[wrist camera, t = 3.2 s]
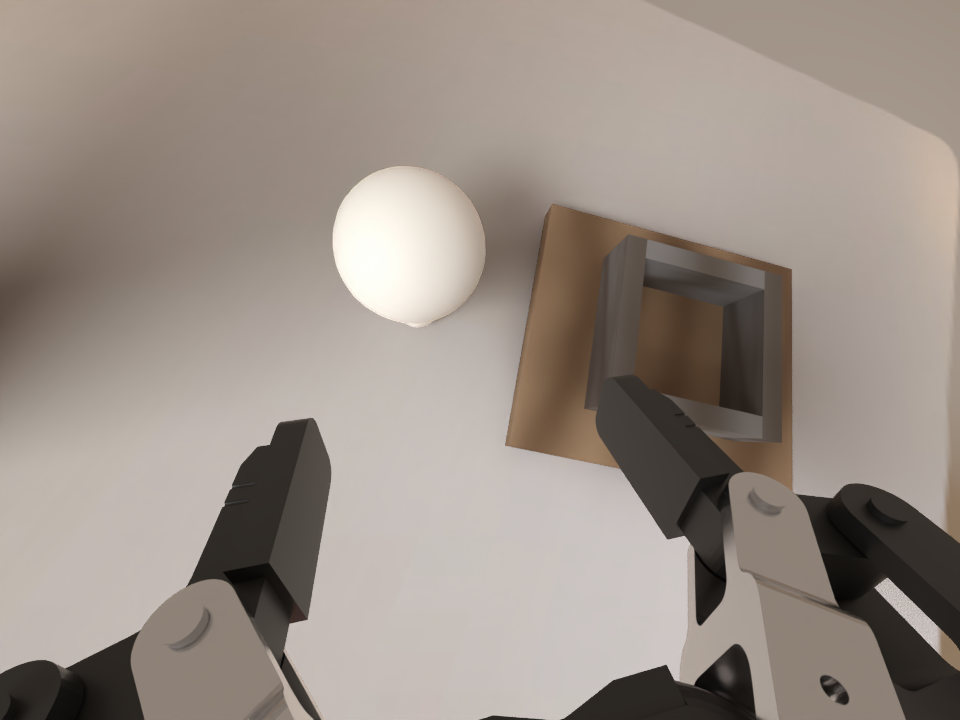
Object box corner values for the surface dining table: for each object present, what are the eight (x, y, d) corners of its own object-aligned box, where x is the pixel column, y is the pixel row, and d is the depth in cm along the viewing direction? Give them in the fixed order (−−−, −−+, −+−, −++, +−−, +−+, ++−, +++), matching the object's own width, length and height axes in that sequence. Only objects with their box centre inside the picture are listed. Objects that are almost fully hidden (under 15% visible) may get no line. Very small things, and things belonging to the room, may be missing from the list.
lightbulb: (384, 256, 23) (345, 101, 12) (475, 282, 23) (515, 156, 13) (355, 344, 21) (281, 258, 11) (452, 370, 22) (474, 312, 11)
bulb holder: (505, 445, 21) (524, 449, 17) (544, 217, 25) (569, 171, 21) (769, 498, 23) (848, 514, 19) (771, 278, 27) (838, 248, 22)
